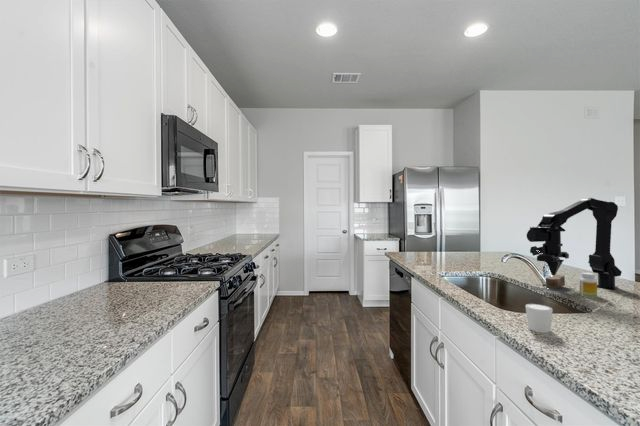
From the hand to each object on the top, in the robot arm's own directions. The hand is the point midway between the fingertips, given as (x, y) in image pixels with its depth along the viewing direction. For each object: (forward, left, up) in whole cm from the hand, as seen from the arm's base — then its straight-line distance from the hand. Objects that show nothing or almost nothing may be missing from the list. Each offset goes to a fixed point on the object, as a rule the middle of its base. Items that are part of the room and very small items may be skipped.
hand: (553, 275), depth 136 cm
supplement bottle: (+2, +13, -7) cm, 15 cm away
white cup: (+57, +16, -7) cm, 59 cm away
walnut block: (+2, 0, -4) cm, 4 cm away
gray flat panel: (+1, 0, -6) cm, 7 cm away
